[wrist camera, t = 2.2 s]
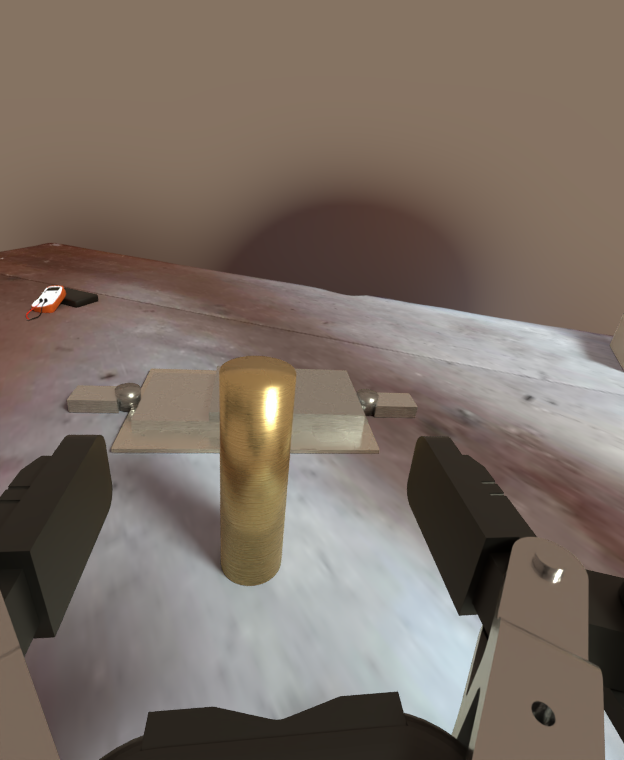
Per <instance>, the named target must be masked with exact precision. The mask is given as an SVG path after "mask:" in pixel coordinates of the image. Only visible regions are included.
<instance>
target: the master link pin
mask: <svg viewBox="0 0 624 760" xmlns="http://www.w3.org/2000/svg"><path fill="white" fill-rule="evenodd" d="M295 387H296V370H295V369H294V368H293V366H291V365H290V364H288V363H287V362H284V361H282V360H279V359H276V358H271V357H265V356H246V357H239V358H235V359H232V360H230V361H228V362H226V363H224V364H223V365H222V366H221V367H220V370H219V401H220V525H221V568H222V570H223V572H224V574H225V575H226V577H227V578H228V579H230V580H231V581H233V582H235V583H237V584H240V585H245V586H255V585H259V584H262V583H265V582H267V581H269V580H270V579H271V578H273V577H274V576H275V575H276V573H277V572H278V570H279V568H280V565H281V558H282V546H283V533H284V521H285V509H286V497H287V484H288V472H289V460H290V448H291V436H292V423H293V411H294V399H295Z"/></svg>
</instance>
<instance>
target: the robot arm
mask: <svg viewBox="0 0 624 760" xmlns="http://www.w3.org/2000/svg"><path fill="white" fill-rule="evenodd" d="M8 487H9V488H8V490H5V491H4V493H3V494H2V495H1V497H0V760H60V758H59V755H58V752H57V749H56V747H55V744H54V741H53V738H52V735H51V732H50V730H49V727H48V724H47V721H46V718H45V715H44V713H43V710H42V707H41V704H40V701H39V698H38V696H37V693H36V690H35V687H34V684H33V682H32V679H31V676H30V673H29V670H28V667H27V665H26V662H25V659H24V657H25V654H26V652H27V650H28V648H29V646H30V644H31V642H32V640H33V638H50V637H55V636H56V633H57V631H58V629H59V626H60V624H61V622H62V619H63V617H64V615H65V612H66V610H67V608H68V605H69V603H70V601H71V598H72V596H73V594H74V591H75V589H76V587H77V584H78V582H79V580H80V577H81V575H82V573H83V570H84V568H85V566H86V563H87V561H88V559H89V556H90V554H91V552H92V549H93V547H94V545H95V542H96V540H97V538H98V535H99V533H100V531H101V528H102V526H103V524H104V521H105V519H106V517H107V514H108V512H109V509H110V506H111V500H112V481H111V475H110V468H109V462H108V456H107V450H106V444H105V440H104V437H103V436H102V435H67V436H66V437H65V438H64V439H63V440H62V442H61V443H60V445H59V446H58V448H57V449H56V450H55V452H54V453H53V455H52V456H41V457H39V458H38V459H36V460H35V461H33V462H32V463H30V464H29V465H27V466H26V467H25V468H23V469H22V470H21V471H20V472H19V473H18V475H17V476H16V477H15V478H14V480H13V481H12V482H11V484H10V485H9V486H8ZM407 496H408V501H409V505H410V507H411V509H412V512H413V514H414V516H415V518H416V521H417V523H418V525H419V527H420V529H421V532H422V534H423V536H424V538H425V541H426V543H427V545H428V547H429V550H430V552H431V554H432V556H433V559H434V561H435V563H436V565H437V568H438V570H439V572H440V574H441V576H442V579H443V581H444V583H445V585H446V588H447V590H448V592H449V594H450V597H451V599H452V601H453V603H454V606H455V608H456V610H457V612H458V614H459V616H462V615H478V616H479V618H480V620H481V622H482V627H481V629H480V632H479V635H478V639H477V643H476V647H475V651H474V655H473V659H472V663H471V667H470V671H469V675H468V679H467V683H466V687H465V691H464V695H463V699H462V703H461V706H460V710H459V713H458V717H457V720H456V723H455V726H454V729H453V732H452V735H450V734H449V733H447V732H446V731H444V730H443V729H441V728H440V727H438V726H436V725H434V724H432V723H430V722H428V721H426V720H424V719H421V718H419V717H416V716H413V715H410V714H406V713H404V712H403V708H402V705H401V701H400V697H399V693H398V692H387V693H375V694H363V695H350V696H340V697H337V698H335V699H332V700H330V701H327V702H325V703H322V704H320V705H317V706H315V707H312V708H310V709H307V710H305V711H302V712H300V713H297V714H295V715H292V716H290V717H287V718H285V719H281V720H273V719H268V718H263V717H259V716H254V715H249V714H245V713H240V712H236V711H231V710H226V709H222V708H217V707H204V708H191V709H179V710H167V711H155V712H148V717H147V722H146V727H145V732H144V735H143V736H140V737H138V738H135V739H133V740H131V741H129V742H127V743H125V744H123V745H121V746H119V747H117V748H116V749H114V750H113V751H111V752H110V753H108V754H107V755H105V756H104V757H102V758H100V759H99V760H605V740H604V710H605V712H606V714H607V715H608V717H609V719H610V720H611V722H612V724H613V726H614V727H615V729H616V731H617V732H618V734H619V736H620V738H621V739H622V741H623V743H624V578H620V577H616V576H612V575H607V574H603V573H599V572H594V571H590V570H586V569H585V568H584V566H583V565H582V564H581V562H580V561H579V560H578V559H577V558H576V557H575V556H574V555H573V554H572V553H571V552H569V551H568V550H566V549H565V548H563V547H562V546H560V545H558V544H556V543H554V542H552V541H549V540H546V539H543V538H538V537H537V536H536V535H535V534H534V532H533V531H532V530H531V528H530V527H529V526H528V524H527V523H526V522H525V520H524V519H523V518H522V516H521V515H520V514H519V512H518V511H517V510H516V508H515V507H514V506H513V504H512V503H511V502H510V500H509V499H508V498H507V496H504V492H503V491H502V490H501V488H500V487H499V486H498V484H495V480H494V479H493V478H492V476H491V475H490V474H489V472H488V471H487V470H486V468H485V467H484V466H482V465H481V464H480V463H478V462H477V461H476V460H474V459H473V458H472V457H470V456H469V455H462V454H461V452H460V451H459V450H458V448H457V447H456V445H455V444H454V443H453V441H452V440H451V439H450V438H449V437H447V436H421V437H419V438H418V440H417V442H416V446H415V451H414V455H413V460H412V464H411V469H410V473H409V478H408V483H407Z"/></svg>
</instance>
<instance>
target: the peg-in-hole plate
mask: <svg viewBox="0 0 624 760" xmlns="http://www.w3.org/2000/svg"><path fill="white" fill-rule="evenodd" d="M219 370H220V367H219V366H217V371H212V370H179V369H151V370H150V372H149V374H148V376H147V378H146V380H145V382H144V384H143V386H142V388H141V389H140V386H139V385H138V384H135V383H125V384H121V385H118V386H79V385H78V386H77V387H76V389H75V390H74V391H73V392H72V394H71V395H70V396H69V398H68V399H67V404H68V410H69V412H80V413H119V411H124V412H129V414H128V416H127V418H126V420H125V422H124V424H123V426H122V428H121V430H120V432H119V434H118V436H117V438H116V440H115V442H114V444H113V446H112V448H111V452H112V453H220V401H219ZM295 370H296V387H295V399H294V411H293V423H292V436H291V448H290V453H359V454H379V448H378V445H377V443H376V441H375V438H374V436H373V433H372V431H371V429H370V426H369V424H368V421H367V419H366V417H365V416H370V415H374V417H391V418H415V416H416V412H417V405H416V404H415V402H414V401H413V399H412V397H411V396H410V394H408V393H377V392H375V391H373V390H369V389H361V390H358V391H357V394H356V392H355V390H354V387H353V385H352V382H351V380H350V378H349V375H348V373H347V371H346V370H314V369H295Z"/></svg>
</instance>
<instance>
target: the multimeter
mask: <svg viewBox="0 0 624 760" xmlns="http://www.w3.org/2000/svg"><path fill="white" fill-rule="evenodd" d="M97 301H98V295H96V294H93V293H88V292H83V291H78V290H74V289H70V288H64V287H63V286H49V287H47V288H46V289H45V291H44V292H43V293H42V295H41V296H40V297H39V299H38V300H36V301H35V302H34V303H33V305H31V307H32V309H31V310H33V311H35V312H41V313H52V312H54V311H55V310H56V309H57V307H58V306H59V305H60V304H64V305H68V306H72V307H81V306H84V305H87V304H90V303H94V302H97ZM31 310H30V311H31ZM30 311H29V312H30ZM29 312H28V313H29ZM28 313H27V314H26V317H27V315H28ZM41 313H40V315H41ZM40 315H39V316H40ZM39 316H38V317H39ZM38 317H35V318H38ZM35 318H32V319H35ZM27 319H29V318H28V317H27ZM32 319H30V320H32ZM27 321H29V320H27Z"/></svg>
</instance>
